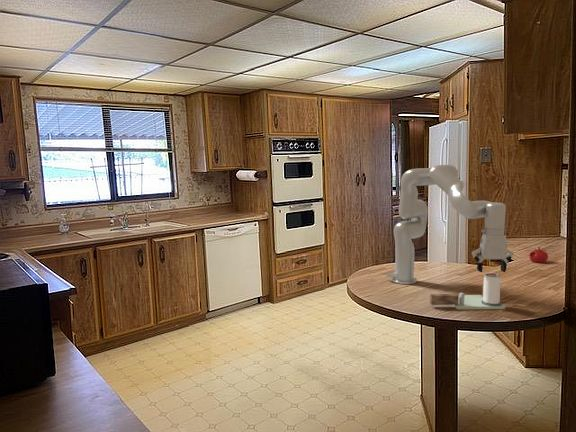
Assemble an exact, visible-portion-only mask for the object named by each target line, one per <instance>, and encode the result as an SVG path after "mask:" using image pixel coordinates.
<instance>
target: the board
mask: <svg viewBox="0 0 576 432" xmlns="http://www.w3.org/2000/svg"><path fill="white" fill-rule="evenodd" d="M483 287H484V282H483V283H482V289H481V291H482V292H481V294H465V292H460V293H459V294H458V295H459V304H458V305H452V306H453V307H454V308H455V310H506V305H504V304H503V303H502V302H501V301H500V302H499V303H498V304H487V303H485V302H484V301H483Z"/></svg>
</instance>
